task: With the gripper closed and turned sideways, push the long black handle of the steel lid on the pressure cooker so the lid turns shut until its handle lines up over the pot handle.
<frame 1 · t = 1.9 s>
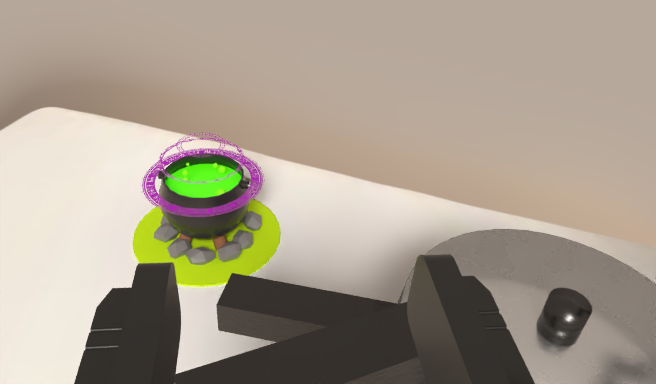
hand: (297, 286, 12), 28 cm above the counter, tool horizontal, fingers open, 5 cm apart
lid: (480, 339, 29), point 14 cm above the counter, hinge at 35.0°
toy cauldron: (208, 236, 56), on the counter
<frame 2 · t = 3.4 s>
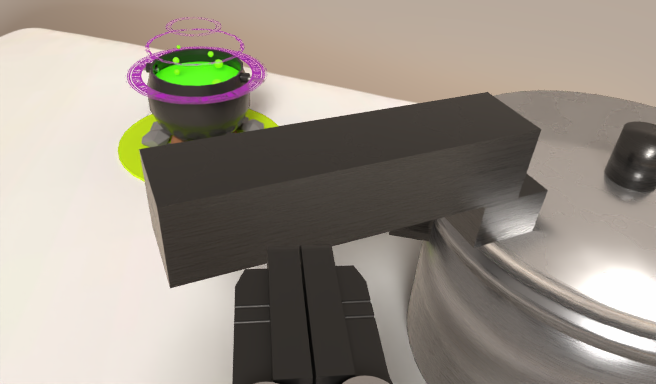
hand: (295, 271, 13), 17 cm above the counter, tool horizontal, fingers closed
lid: (543, 166, 22), point 14 cm above the counter, hinge at 35.0°
toy cauldron: (204, 145, 50), on the counter
cooker pot: (551, 340, 33), on the counter
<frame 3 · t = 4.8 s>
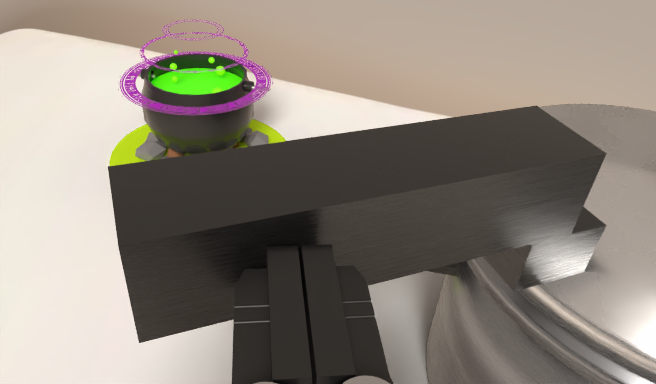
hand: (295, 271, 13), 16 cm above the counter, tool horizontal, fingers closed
lid: (598, 195, 19), point 14 cm above the counter, hinge at 33.4°, touching gripper
toy cauldron: (203, 158, 46), on the counter
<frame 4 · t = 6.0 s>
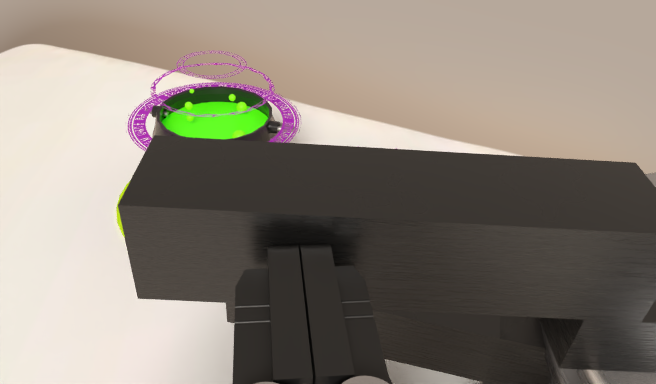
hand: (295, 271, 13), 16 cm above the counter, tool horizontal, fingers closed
toy cauldron: (221, 203, 41), on the counter
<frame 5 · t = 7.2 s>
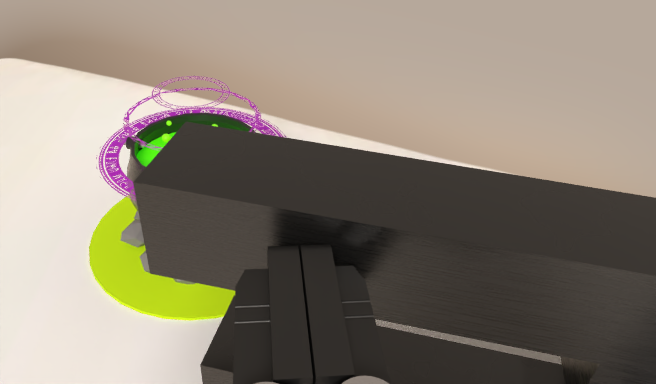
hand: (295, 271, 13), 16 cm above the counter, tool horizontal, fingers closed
toy cauldron: (205, 238, 37), on the counter
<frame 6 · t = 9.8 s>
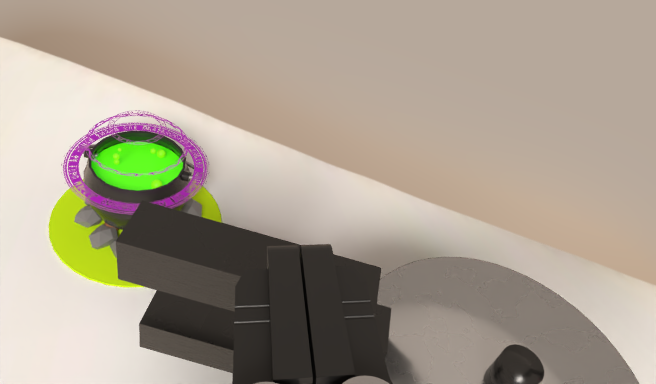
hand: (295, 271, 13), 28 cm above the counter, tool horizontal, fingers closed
lid: (409, 337, 29), point 14 cm above the counter, hinge at 0.6°
toy cauldron: (139, 223, 50), on the counter
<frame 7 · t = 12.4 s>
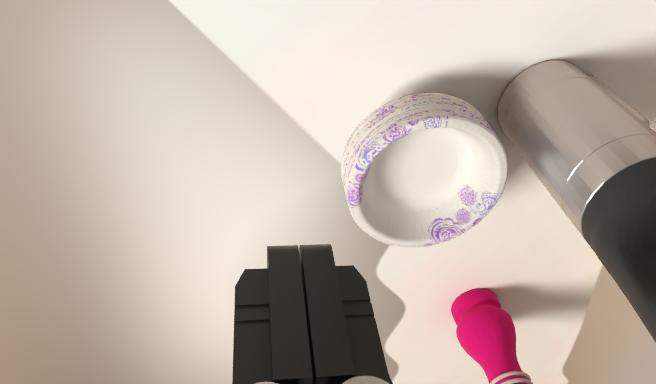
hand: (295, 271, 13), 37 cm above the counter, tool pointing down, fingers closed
paper bowls: (408, 143, 56), on the counter
pepper mill: (473, 303, 72), on the counter
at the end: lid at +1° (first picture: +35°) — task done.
